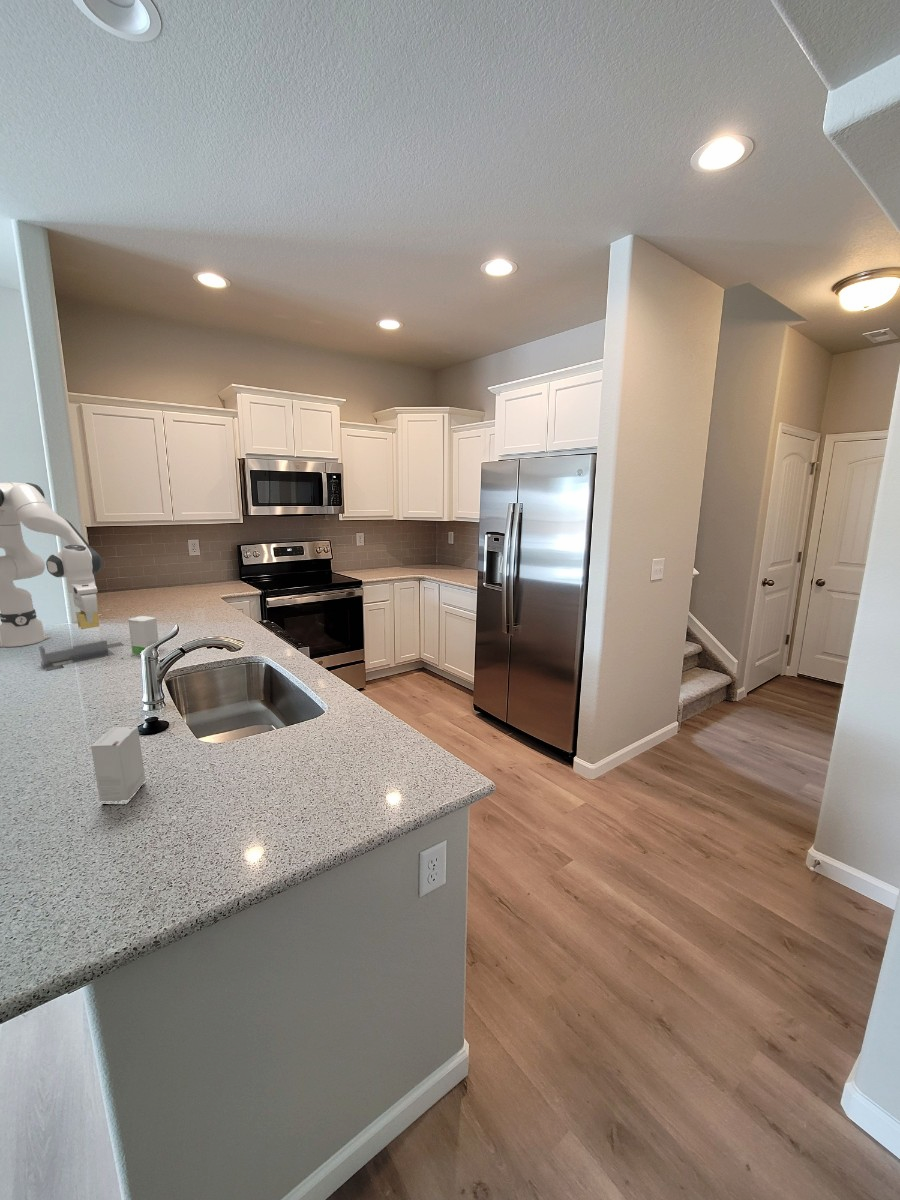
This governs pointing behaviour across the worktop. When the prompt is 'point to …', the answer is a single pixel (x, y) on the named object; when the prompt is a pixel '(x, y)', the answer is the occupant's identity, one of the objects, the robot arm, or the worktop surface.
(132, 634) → the skincare box
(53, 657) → the rail
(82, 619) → the gold knobbed block
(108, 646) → the thin grey square plate
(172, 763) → the worktop surface
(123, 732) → the skincare box
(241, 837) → the worktop surface
